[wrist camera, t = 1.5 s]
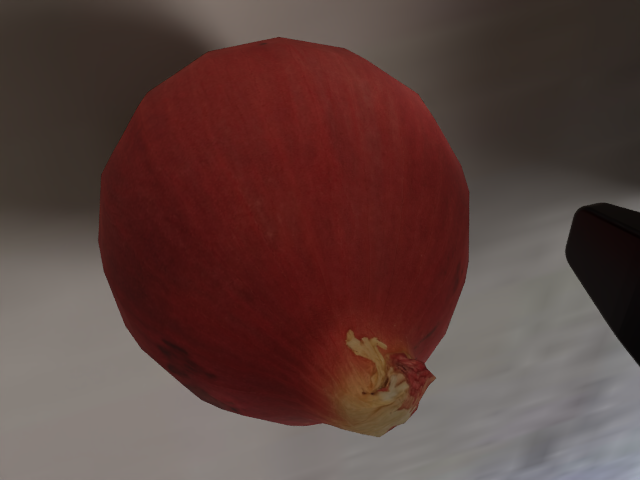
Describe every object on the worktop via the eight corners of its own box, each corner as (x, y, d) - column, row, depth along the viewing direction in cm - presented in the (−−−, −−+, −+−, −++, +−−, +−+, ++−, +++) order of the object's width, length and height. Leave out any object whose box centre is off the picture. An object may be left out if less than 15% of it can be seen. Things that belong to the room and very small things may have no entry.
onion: (334, 250, 15) (498, 547, 9) (98, 244, 13) (84, 633, 6) (399, 22, 12) (722, 216, 6) (107, -35, 10) (100, 173, 4)
